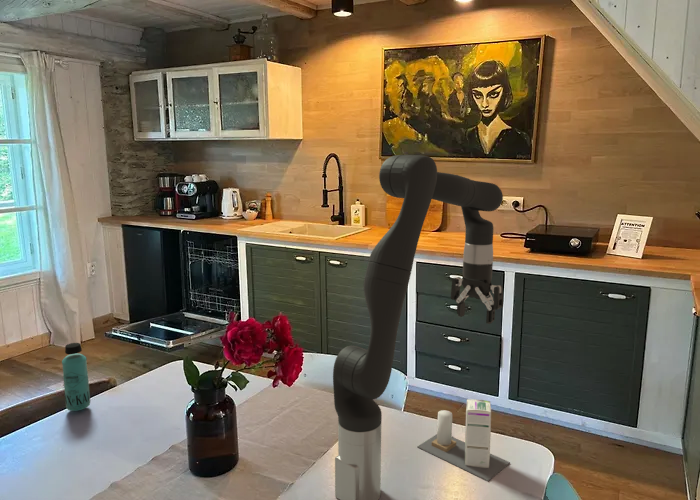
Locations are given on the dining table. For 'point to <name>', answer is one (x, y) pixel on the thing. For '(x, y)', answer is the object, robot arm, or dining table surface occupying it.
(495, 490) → the dining table surface
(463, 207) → the robot arm
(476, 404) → the syrup box
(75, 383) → the beverage bottle
